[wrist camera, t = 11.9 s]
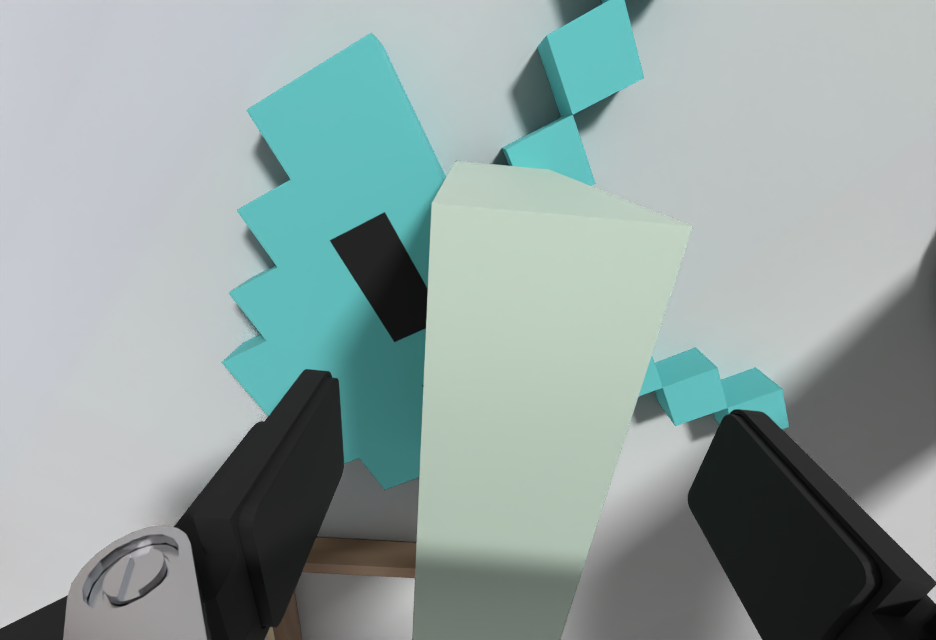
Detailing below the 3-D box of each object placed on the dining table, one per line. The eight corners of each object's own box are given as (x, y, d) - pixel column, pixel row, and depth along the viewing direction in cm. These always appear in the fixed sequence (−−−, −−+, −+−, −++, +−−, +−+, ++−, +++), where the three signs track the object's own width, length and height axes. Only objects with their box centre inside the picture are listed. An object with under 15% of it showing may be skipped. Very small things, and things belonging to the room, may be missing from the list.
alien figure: (647, -110, 12) (137, 198, 15) (685, -162, 10) (87, 207, 13) (755, 396, 19) (398, 520, 23) (788, 427, 17) (391, 558, 21)
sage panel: (548, 169, 13) (693, 225, 5) (503, 453, 18) (532, 723, 10) (455, 160, 13) (431, 203, 4) (436, 449, 18) (408, 718, 9)
